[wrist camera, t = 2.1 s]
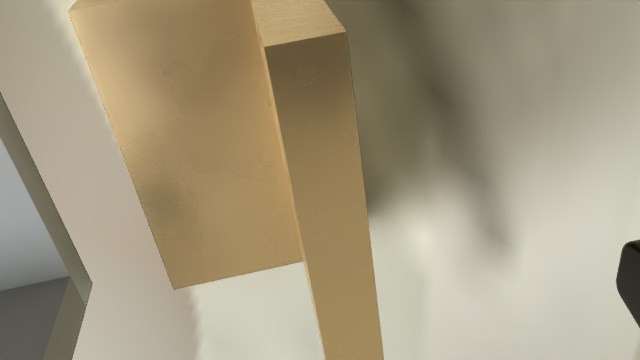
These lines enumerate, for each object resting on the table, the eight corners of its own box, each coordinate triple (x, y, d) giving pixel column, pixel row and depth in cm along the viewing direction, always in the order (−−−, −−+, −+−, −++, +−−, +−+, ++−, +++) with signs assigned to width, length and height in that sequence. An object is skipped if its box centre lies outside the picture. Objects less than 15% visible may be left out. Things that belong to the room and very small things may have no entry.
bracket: (335, 228, 17) (387, 388, 12) (175, 262, 17) (160, 441, 12) (294, -41, 13) (346, 31, 8) (79, -3, 13) (-10, 98, 8)
